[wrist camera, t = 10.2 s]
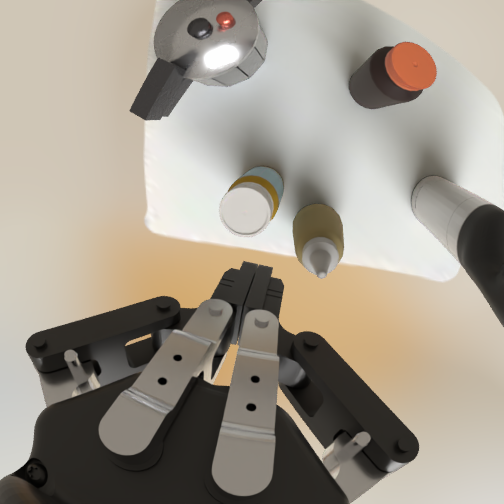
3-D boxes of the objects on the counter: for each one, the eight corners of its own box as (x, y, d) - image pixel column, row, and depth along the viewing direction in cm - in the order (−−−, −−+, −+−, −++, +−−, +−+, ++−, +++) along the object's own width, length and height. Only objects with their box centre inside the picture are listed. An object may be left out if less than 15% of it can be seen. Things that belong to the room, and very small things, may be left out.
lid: (194, -17, 23) (181, -30, 19) (281, 15, 25) (277, 1, 21) (120, 96, 33) (102, 95, 29) (194, 138, 34) (180, 141, 30)
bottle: (286, 168, 43) (278, 188, 30) (281, 209, 46) (270, 245, 33) (244, 163, 44) (217, 180, 30) (240, 202, 47) (214, 235, 34)
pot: (229, -7, 30) (213, -29, 22) (295, 28, 32) (293, 7, 24) (149, 93, 40) (119, 90, 33) (205, 134, 42) (183, 136, 35)
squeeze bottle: (299, 192, 44) (295, 232, 28) (345, 204, 43) (367, 250, 28) (288, 236, 48) (278, 294, 32) (332, 247, 47) (343, 309, 31)
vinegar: (340, 92, 36) (368, 65, 18) (361, 62, 32) (399, 20, 15) (375, 117, 36) (427, 112, 18) (395, 87, 33) (454, 66, 15)
